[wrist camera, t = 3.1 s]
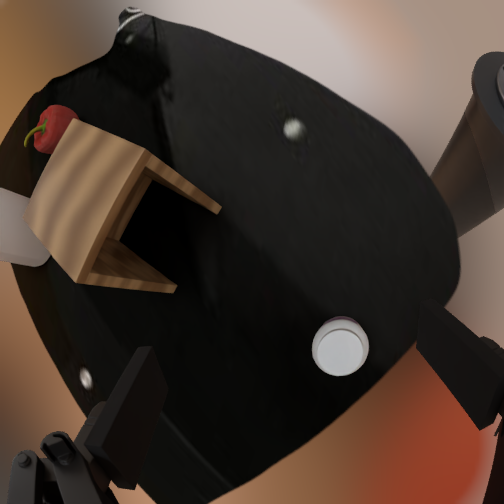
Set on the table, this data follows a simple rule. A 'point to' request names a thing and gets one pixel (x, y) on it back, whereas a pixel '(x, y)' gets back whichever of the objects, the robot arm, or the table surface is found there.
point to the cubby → (100, 207)
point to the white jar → (18, 233)
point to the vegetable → (51, 128)
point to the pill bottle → (340, 346)
